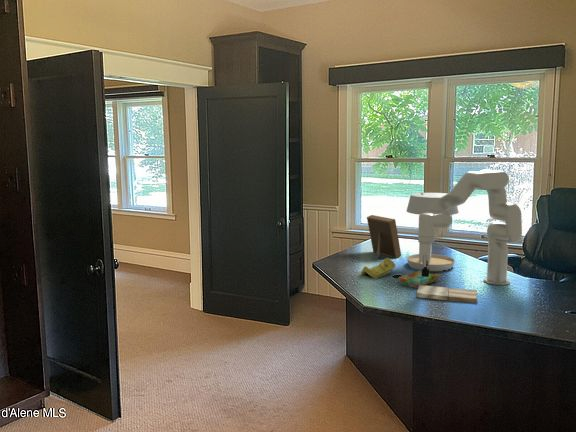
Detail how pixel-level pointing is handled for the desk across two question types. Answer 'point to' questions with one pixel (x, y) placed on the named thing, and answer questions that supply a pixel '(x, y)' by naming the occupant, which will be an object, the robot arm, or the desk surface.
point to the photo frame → (384, 236)
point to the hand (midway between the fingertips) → (425, 276)
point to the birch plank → (433, 292)
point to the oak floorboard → (462, 295)
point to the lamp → (438, 262)
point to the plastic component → (379, 269)
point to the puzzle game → (417, 279)
